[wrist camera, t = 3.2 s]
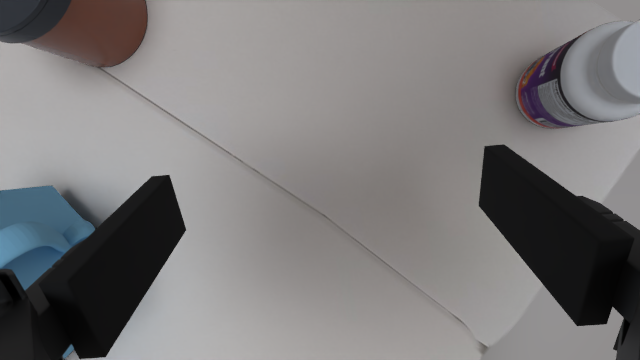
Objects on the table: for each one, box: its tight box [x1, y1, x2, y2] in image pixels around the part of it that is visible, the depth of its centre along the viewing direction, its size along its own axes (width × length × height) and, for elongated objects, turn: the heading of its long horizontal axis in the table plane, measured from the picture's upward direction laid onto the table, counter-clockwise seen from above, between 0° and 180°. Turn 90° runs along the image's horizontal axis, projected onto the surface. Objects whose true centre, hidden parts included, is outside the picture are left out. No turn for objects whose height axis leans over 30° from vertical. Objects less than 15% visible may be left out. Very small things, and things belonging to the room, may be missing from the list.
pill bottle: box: [516, 20, 640, 128], centre depth 21 cm, size 5×5×10 cm
